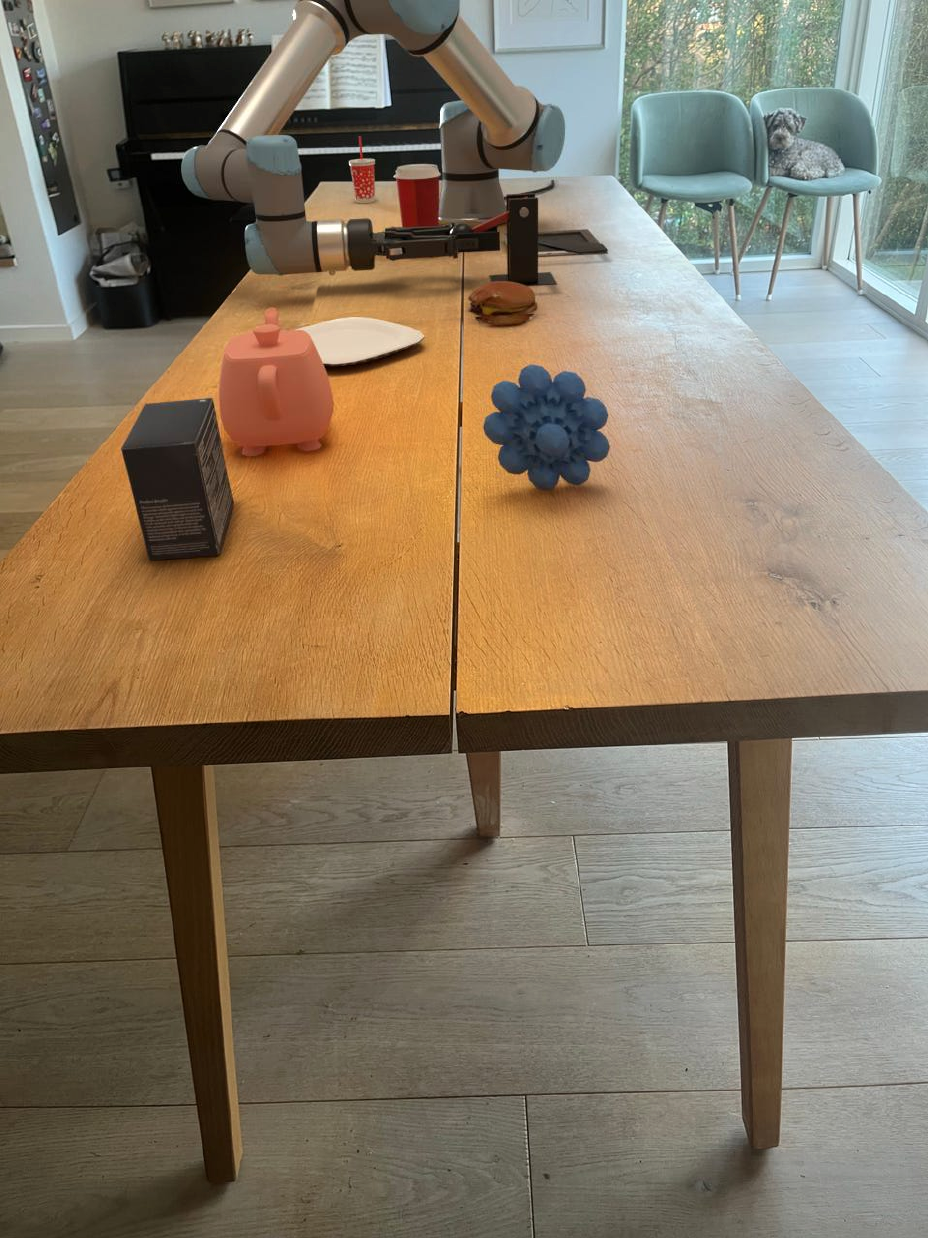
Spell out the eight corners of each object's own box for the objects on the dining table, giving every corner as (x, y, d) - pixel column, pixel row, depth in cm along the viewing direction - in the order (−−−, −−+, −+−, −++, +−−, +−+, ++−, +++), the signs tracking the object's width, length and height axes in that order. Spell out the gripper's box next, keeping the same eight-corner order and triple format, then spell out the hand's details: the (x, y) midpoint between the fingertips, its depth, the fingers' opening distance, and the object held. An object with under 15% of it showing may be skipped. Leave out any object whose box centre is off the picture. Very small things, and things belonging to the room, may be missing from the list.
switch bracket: (493, 296, 154) (491, 202, 147) (489, 284, 161) (487, 193, 154) (556, 293, 154) (558, 198, 147) (550, 281, 161) (551, 190, 154)
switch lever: (456, 257, 153) (446, 232, 151) (455, 251, 156) (445, 227, 154) (536, 219, 150) (527, 193, 148) (533, 215, 154) (524, 189, 152)
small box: (165, 508, 92) (141, 400, 87) (235, 503, 93) (216, 395, 87) (143, 562, 83) (115, 445, 78) (221, 556, 84) (199, 439, 78)
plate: (356, 323, 144) (355, 311, 143) (441, 346, 133) (440, 333, 132) (252, 353, 133) (250, 340, 132) (335, 380, 122) (333, 367, 121)
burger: (531, 306, 148) (530, 274, 145) (541, 324, 140) (541, 290, 138) (465, 311, 147) (464, 279, 145) (472, 328, 140) (471, 295, 137)
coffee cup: (446, 250, 184) (442, 162, 177) (441, 259, 178) (437, 169, 170) (402, 250, 185) (396, 163, 177) (395, 260, 178) (389, 170, 170)
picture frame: (607, 261, 172) (587, 237, 189) (608, 249, 171) (587, 226, 188) (516, 266, 171) (504, 241, 189) (516, 254, 170) (504, 230, 188)
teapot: (339, 467, 99) (326, 348, 93) (220, 477, 98) (198, 358, 92) (334, 400, 116) (323, 296, 110) (232, 409, 115) (214, 304, 108)
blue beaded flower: (490, 513, 89) (486, 384, 82) (482, 482, 95) (478, 359, 88) (617, 504, 89) (623, 375, 83) (602, 474, 95) (607, 351, 89)
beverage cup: (352, 200, 237) (346, 135, 229) (377, 198, 237) (372, 134, 230) (352, 204, 231) (346, 138, 224) (378, 202, 232) (373, 137, 224)
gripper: (352, 258, 162) (494, 251, 163) (347, 283, 147) (503, 275, 148) (348, 209, 158) (493, 202, 159) (342, 230, 143) (502, 222, 144)
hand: (498, 237), depth 153 cm, fingers closed on switch lever, 4 cm apart
